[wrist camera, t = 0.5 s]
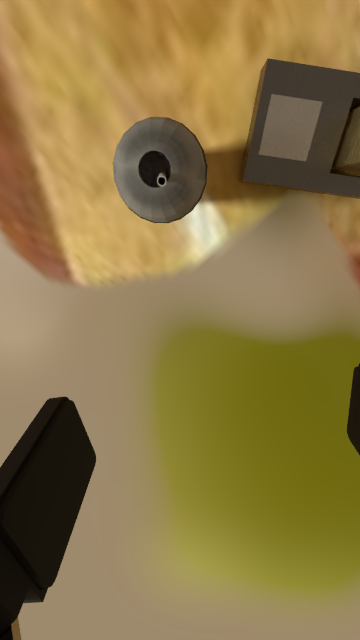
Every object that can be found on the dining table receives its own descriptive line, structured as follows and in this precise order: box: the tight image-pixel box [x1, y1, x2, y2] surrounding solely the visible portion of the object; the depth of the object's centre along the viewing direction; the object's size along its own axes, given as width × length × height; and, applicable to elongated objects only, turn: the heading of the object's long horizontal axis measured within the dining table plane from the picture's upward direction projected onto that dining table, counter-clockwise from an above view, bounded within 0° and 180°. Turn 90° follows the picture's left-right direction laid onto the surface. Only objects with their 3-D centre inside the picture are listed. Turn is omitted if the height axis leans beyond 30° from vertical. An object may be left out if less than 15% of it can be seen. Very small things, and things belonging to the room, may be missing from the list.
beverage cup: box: [113, 117, 207, 223], centre depth 22 cm, size 7×7×20 cm
